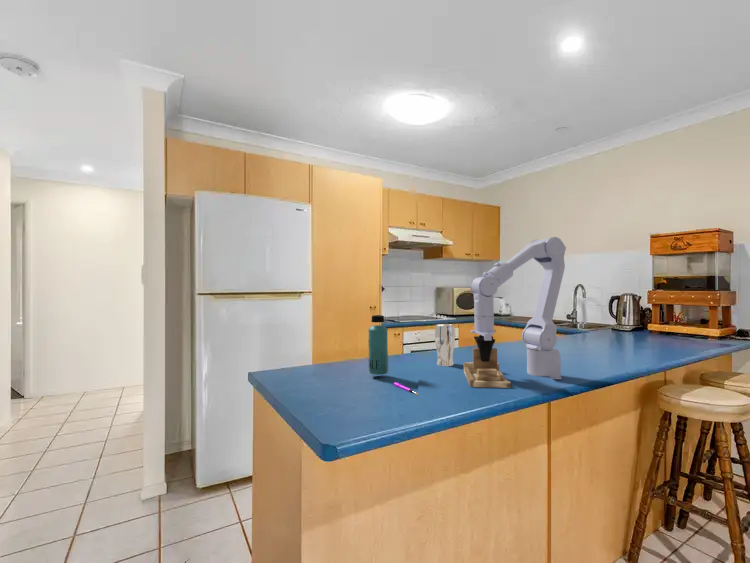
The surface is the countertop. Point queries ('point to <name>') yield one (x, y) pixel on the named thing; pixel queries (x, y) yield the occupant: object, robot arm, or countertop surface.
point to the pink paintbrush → (404, 388)
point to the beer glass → (445, 344)
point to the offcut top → (486, 372)
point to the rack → (471, 379)
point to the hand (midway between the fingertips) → (484, 360)
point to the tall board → (484, 365)
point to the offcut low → (488, 378)
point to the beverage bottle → (378, 347)
